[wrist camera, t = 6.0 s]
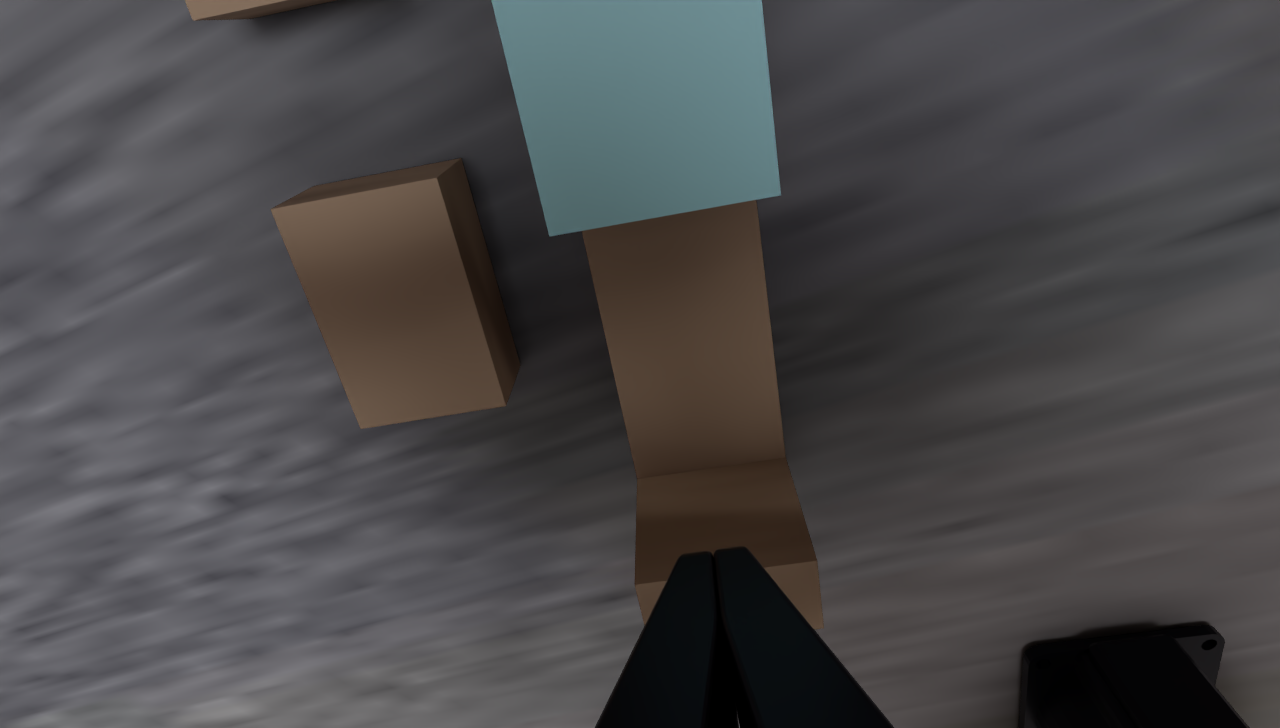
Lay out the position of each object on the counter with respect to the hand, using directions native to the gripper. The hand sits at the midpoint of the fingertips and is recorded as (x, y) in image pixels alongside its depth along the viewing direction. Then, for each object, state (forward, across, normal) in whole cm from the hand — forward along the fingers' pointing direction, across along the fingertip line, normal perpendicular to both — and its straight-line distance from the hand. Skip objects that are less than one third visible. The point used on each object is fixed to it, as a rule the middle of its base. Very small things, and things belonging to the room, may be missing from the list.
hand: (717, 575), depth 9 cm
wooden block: (+12, 0, -1) cm, 12 cm away
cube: (+9, 0, -5) cm, 11 cm away
